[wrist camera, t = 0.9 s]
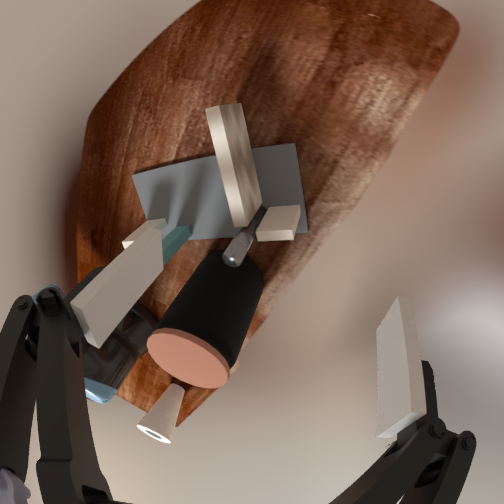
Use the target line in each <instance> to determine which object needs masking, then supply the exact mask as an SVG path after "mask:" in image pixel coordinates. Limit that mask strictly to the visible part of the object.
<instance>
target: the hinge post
mask: <svg viewBox="0 0 504 504" xmlns="http://www.w3.org/2000/svg"><path fill="white" fill-rule="evenodd" d="M266 212H267V210H266V208H265V207H264V206H261V205H260V207H259V209H258V210H257V212H256V213H255V215H254V216H253V218H252V220H251V221H250V223H249V224H248V226H246V227H240V229H239V230H238V232H237V234H236V235H235V237H234V238H233V240H232V241H231V243H230V244H229V246H228V247H227V249H226V250H225V252H224V253H223V261H224V262H225V263H226V264H227V265H228V266H231V267H238V266H239V265H240V264H241V263H242V261H243V259H244V257H245V255H246V253H247V251H248V249H249V248H250V246H251V244H252V242H253V240H254V238H255V236H256V230H257V228H258V227H259V225H260V223H261V221H262V219H263V217H264V216H265V214H266Z"/></svg>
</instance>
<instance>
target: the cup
mask: <svg viewBox="0 0 504 504" xmlns="http://www.w3.org/2000/svg"><path fill="white" fill-rule="evenodd" d="M184 392H185V390H184V389H183V388H182V387H181V386H179V385H177V384H173V383H172V384H170V386H169V387H168V388H167V389H166V391H165V392H164V393H163V394H162V396H161V397H160V398H159V399H158V401H157V402H156V403H155V404H154V405H153V407H152V408H151V409H150V410H149V412H148V413H147V414H146V415H145V416H144V417H143V419H142V420H141V421H140V422H139V423H138V425H137V427H138V428H139V429H140V430H142V431H143V432H144V433H146V434H148V435H149V436H151V437H153V438H155V439H157V440H160V441H162V442H165V443H171V439H172V436H173V432H174V428H175V424H176V421H177V417H178V413H179V409H180V406H181V402H182V399H183V395H184Z"/></svg>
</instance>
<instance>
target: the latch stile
mask: <svg viewBox="0 0 504 504" xmlns="http://www.w3.org/2000/svg"><path fill="white" fill-rule="evenodd" d="M191 235H192V233H191V230H190V226H189V225H186V226H176V227H175V228H174V229H173V230H172V231H171V232H170V233H169V234H168V235H167V236H166V237H165V238H164V239H163V240H162V254H163V267H164V266H165V264H166V263H167V262H168V261H169V260H170V259H171V258H172V256H173V255H174V254H175V253H176V252H177V251H178V250H179V249H180V247H181V246H182V245H183V244H184V243H185V242H186V241H187V240H188V239H189V237H190V236H191Z"/></svg>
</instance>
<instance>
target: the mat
mask: <svg viewBox="0 0 504 504" xmlns="http://www.w3.org/2000/svg"><path fill="white" fill-rule="evenodd" d="M251 150H252V155H253V159H254V164H255V169H256V173H257V178H258V183H259V188H260V193H261V198H262V204H261V206H264V207H265V208H266V210H268V208H269V207H276V206H289V205H300V212H301V214H300V218H299V222H298V225H297V229H296V232H295V234H298V233H308V225H307V217H306V209H305V202H304V195H303V188H302V181H301V175H300V169H299V162H298V156H297V150H296V145H295V143H287V144H280V145H272V146H265V147H258V148H252V149H251ZM132 178H133V181H134V184H135V187H136V190H137V193H138V196H139V199H140V202H141V205H142V207H143V210H144V213H145V216H146V219H147V221H148V220H155V219H162V218H165V219H166V222H167V226H166V227H165V228H164V229H163V230H162V231H161V237H162V240H163V239H164V238H165V237H166V236H167V235H168V234H169V233H170V232H171V231H172V230H173V229H174V228H175V227H176V226H186V225H189V226H190V230H191V233H192V235H191V236H190V237H189V239H188V240H197V239H212V238H228V237H235V235H236V234H237V232H238V230H239V229H240V227H234V224H233V220H232V216H231V212H230V208H229V204H228V200H227V196H226V192H225V188H224V184H223V180H222V176H221V172H220V168H219V164H218V160H217V156H216V155H212V156H207V157H202V158H198V159H193V160H189V161H184V162H180V163H175V164H171V165H167V166H163V167H159V168H155V169H151V170H148V171H144V172H140V173H137V174H134V175H132ZM256 236H257V235H256Z"/></svg>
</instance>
